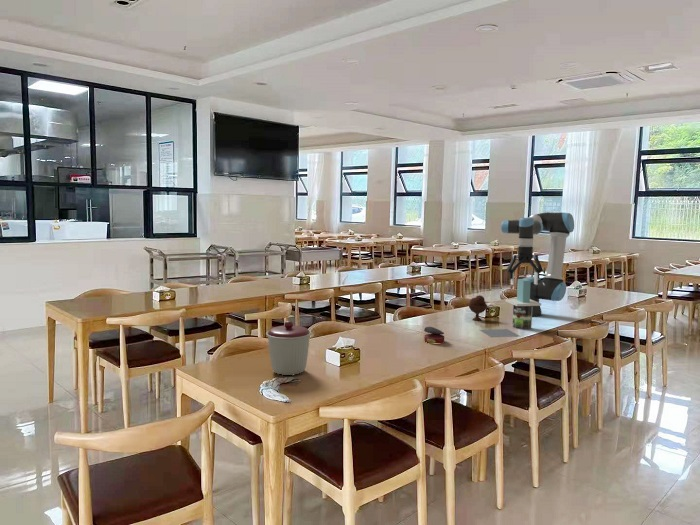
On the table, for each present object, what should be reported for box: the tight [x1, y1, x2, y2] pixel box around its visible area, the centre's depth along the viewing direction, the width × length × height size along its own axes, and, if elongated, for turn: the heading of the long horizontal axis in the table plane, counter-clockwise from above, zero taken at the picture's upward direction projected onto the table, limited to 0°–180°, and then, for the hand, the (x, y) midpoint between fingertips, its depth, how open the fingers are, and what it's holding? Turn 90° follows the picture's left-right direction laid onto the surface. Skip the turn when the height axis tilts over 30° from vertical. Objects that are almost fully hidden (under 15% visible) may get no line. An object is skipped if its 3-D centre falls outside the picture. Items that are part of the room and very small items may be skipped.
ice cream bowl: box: [467, 294, 488, 322], centre depth 308 cm, size 11×11×15 cm
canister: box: [265, 320, 312, 376], centre depth 209 cm, size 18×18×21 cm
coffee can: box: [512, 305, 533, 331], centre depth 288 cm, size 10×10×14 cm
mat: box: [479, 328, 520, 338], centre depth 275 cm, size 16×16×1 cm
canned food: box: [423, 326, 445, 344], centre depth 259 cm, size 11×10×10 cm
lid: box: [505, 278, 542, 307], centre depth 286 cm, size 14×14×13 cm
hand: (524, 284), depth 286 cm, fingers open, 13 cm apart
